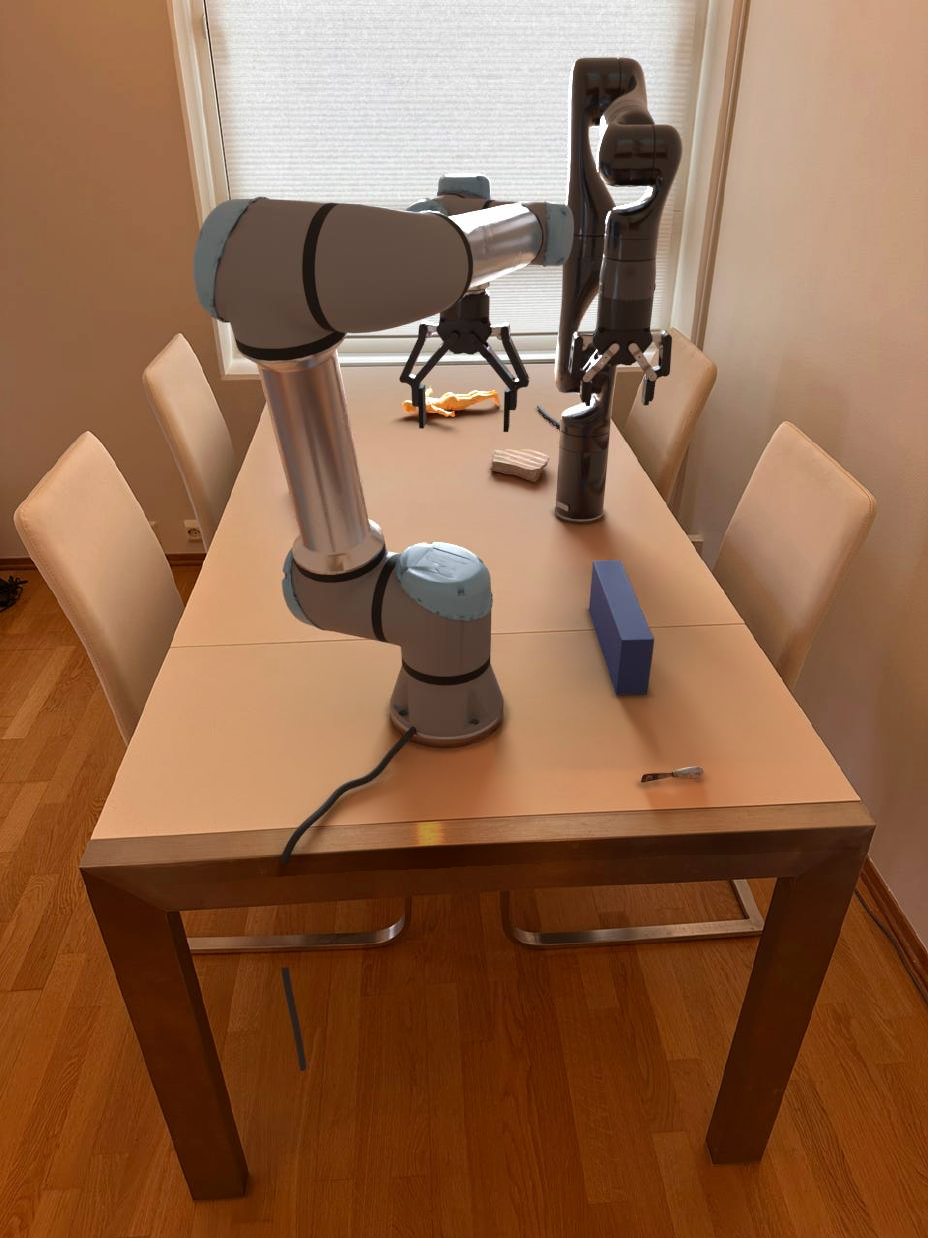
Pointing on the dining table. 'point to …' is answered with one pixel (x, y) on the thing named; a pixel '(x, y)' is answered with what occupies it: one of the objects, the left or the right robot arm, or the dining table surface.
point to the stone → (519, 462)
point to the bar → (620, 628)
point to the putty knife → (674, 774)
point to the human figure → (451, 402)
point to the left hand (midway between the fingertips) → (464, 427)
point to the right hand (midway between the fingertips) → (615, 404)
